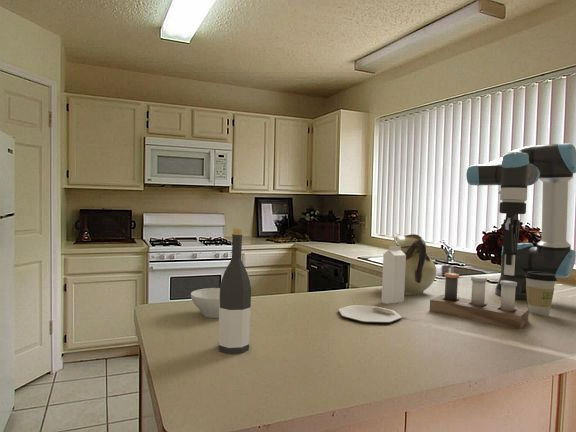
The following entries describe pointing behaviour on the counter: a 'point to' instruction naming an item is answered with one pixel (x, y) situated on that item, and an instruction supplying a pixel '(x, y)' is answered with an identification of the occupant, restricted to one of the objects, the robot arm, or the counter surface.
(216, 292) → the bowl
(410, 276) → the pitcher
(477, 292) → the knob mid
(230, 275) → the wine bottle
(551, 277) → the coffee cup
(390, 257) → the milk
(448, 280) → the pot knob
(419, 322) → the counter surface
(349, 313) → the plate
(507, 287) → the knob left
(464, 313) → the mount
